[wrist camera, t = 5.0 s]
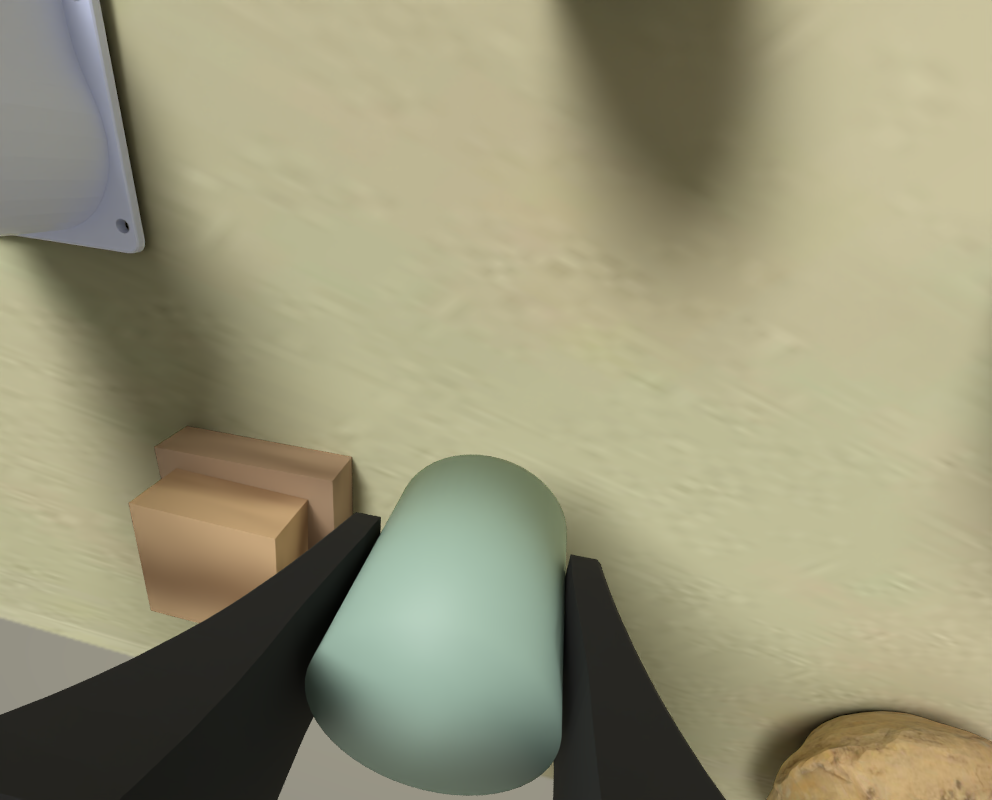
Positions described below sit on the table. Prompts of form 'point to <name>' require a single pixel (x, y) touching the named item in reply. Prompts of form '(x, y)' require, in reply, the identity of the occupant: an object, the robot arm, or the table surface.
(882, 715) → the oil lamp
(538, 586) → the green cylinder
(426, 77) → the table surface
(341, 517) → the base block
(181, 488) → the top block
